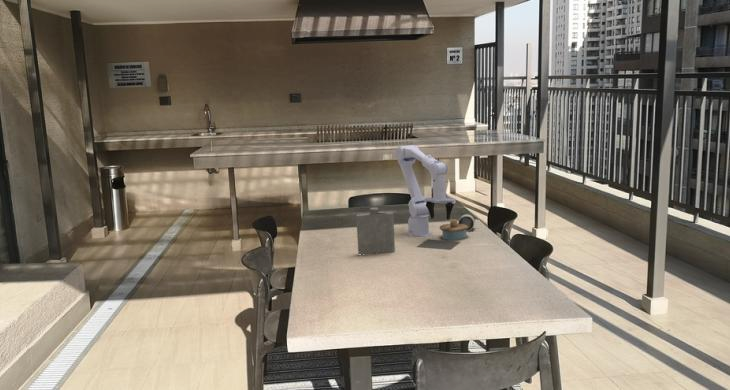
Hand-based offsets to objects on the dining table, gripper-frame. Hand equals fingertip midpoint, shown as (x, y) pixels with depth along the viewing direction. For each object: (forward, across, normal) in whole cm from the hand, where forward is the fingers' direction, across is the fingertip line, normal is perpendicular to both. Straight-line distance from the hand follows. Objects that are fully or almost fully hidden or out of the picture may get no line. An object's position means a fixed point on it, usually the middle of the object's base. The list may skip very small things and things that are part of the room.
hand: (440, 218), depth 273 cm
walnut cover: (+6, +4, +7) cm, 10 cm away
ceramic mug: (+11, +3, +23) cm, 26 cm away
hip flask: (+11, -19, -28) cm, 35 cm away
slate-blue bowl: (+10, +4, +7) cm, 13 cm away
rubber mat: (+10, +2, -8) cm, 13 cm away
